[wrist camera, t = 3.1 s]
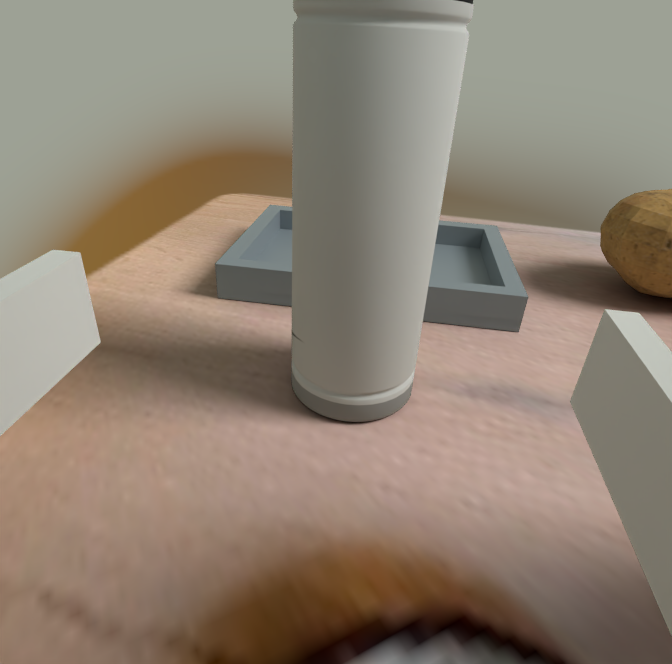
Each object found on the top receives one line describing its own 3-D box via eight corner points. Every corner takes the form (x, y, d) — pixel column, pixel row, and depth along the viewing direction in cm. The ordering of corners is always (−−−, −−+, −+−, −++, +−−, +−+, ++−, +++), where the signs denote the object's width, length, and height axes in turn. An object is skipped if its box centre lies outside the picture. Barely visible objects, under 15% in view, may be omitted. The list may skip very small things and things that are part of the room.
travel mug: (261, 387, 25) (243, -141, 15) (344, 340, 29) (374, -92, 19) (355, 448, 22) (416, -184, 11) (434, 385, 26) (528, -113, 16)
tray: (490, 253, 43) (496, 225, 42) (518, 332, 31) (528, 296, 30) (270, 231, 45) (270, 204, 44) (217, 297, 33) (215, 263, 32)
